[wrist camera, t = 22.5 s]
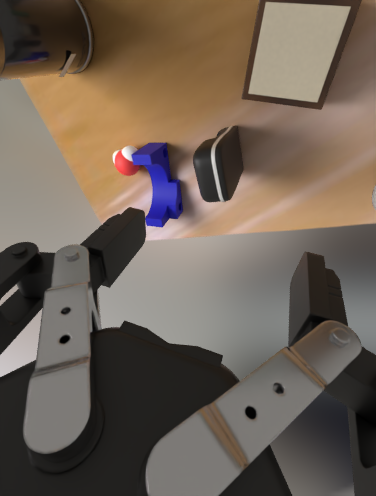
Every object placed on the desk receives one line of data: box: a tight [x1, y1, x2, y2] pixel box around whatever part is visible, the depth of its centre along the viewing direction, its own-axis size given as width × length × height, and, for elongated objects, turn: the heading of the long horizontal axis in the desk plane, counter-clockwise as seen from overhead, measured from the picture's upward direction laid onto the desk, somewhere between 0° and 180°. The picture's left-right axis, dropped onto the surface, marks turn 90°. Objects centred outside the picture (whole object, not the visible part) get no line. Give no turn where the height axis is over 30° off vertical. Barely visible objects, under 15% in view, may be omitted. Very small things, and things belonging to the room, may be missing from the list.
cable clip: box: [131, 143, 183, 227], centre depth 41 cm, size 12×4×6 cm, turn 6°
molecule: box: [113, 146, 141, 176], centre depth 41 cm, size 5×5×4 cm
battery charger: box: [193, 126, 243, 202], centre depth 33 cm, size 7×4×11 cm, turn 16°
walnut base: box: [242, 0, 362, 110], centre depth 27 cm, size 9×9×4 cm
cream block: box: [248, 2, 351, 102], centre depth 25 cm, size 7×7×3 cm
